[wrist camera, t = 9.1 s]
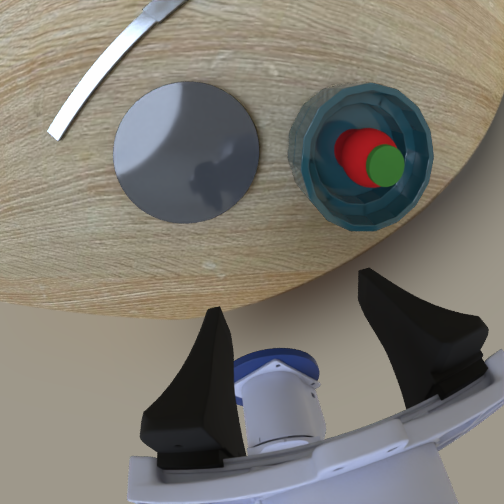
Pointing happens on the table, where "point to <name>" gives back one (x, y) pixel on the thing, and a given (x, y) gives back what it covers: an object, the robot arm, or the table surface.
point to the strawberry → (369, 157)
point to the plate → (186, 152)
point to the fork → (110, 62)
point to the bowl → (333, 175)
